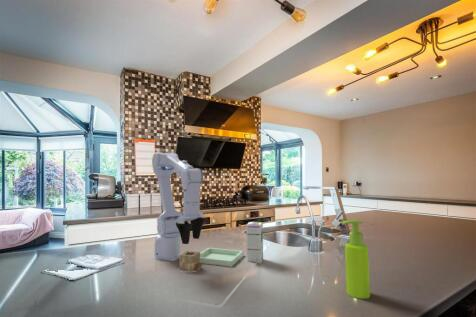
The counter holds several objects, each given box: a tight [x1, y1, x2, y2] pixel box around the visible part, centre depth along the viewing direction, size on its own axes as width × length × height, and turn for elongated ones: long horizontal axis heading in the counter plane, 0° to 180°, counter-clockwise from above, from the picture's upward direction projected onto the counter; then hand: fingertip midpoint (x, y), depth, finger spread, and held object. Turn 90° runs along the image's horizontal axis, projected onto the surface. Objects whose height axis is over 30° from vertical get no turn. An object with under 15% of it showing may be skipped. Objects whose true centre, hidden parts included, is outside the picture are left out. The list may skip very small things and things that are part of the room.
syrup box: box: [245, 221, 264, 264], centre depth 98 cm, size 6×6×14 cm
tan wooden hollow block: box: [178, 250, 202, 273], centre depth 88 cm, size 7×5×5 cm
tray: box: [199, 247, 244, 268], centre depth 98 cm, size 16×14×2 cm
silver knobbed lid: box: [177, 267, 198, 274], centre depth 88 cm, size 8×8×4 cm
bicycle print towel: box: [44, 253, 125, 281], centre depth 91 cm, size 19×20×2 cm
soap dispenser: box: [340, 219, 371, 300], centre depth 70 cm, size 6×7×20 cm
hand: (190, 241), depth 89 cm, fingers open, 7 cm apart
